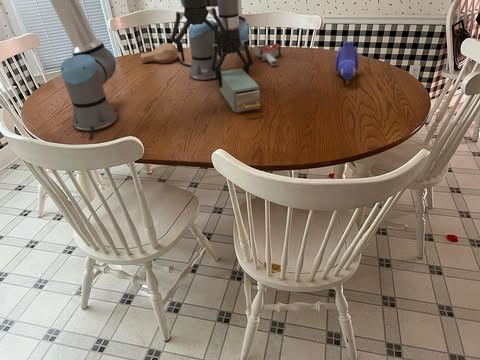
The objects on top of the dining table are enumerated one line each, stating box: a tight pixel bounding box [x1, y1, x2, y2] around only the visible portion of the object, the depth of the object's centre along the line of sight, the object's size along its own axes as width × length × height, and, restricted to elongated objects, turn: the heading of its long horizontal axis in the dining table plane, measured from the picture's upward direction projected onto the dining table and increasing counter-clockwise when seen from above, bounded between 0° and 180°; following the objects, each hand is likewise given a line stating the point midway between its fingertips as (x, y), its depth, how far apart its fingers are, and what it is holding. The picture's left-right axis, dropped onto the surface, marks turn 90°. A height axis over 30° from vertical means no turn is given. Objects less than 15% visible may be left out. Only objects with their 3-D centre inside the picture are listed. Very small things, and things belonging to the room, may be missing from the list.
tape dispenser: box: [254, 43, 282, 67], centre depth 181 cm, size 18×5×20 cm
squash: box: [140, 42, 179, 64], centre depth 186 cm, size 11×20×9 cm, turn 92°
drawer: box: [236, 89, 262, 113], centre depth 137 cm, size 25×9×7 cm, turn 17°
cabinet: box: [219, 67, 260, 113], centre depth 141 cm, size 21×10×9 cm, turn 17°
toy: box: [334, 40, 360, 86], centre depth 151 cm, size 10×17×25 cm
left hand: (201, 58), depth 131 cm, fingers open, 13 cm apart
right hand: (233, 84), depth 148 cm, fingers closed on cabinet, 10 cm apart
